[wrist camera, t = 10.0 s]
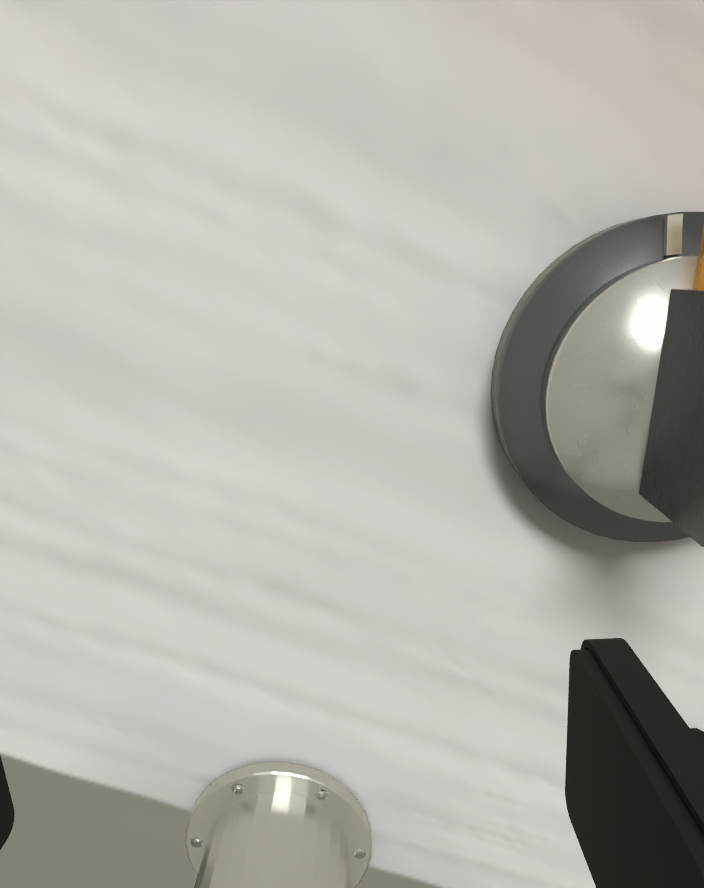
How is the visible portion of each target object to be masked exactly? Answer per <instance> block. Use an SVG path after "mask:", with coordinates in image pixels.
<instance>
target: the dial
mask: <svg viewBox="0 0 704 888" xmlns="http://www.w3.org/2000/svg"><path fill="white" fill-rule="evenodd" d="M540 408H541V418H542V424H543V428H544V432H545V436H546V438H547V441H548V443H549V446H550V448H551V451H552V452H553V454H554V456H555V458H556V459H557V461H558V463H559V464H560V466H561V467H562V468H563V469H564V471H565V472H566V473H567V474H568V476H569V477H570V478H571V479H572V480H573V481H574V482H575V483H576V484H577V485H578V486H579V487H580V488H581V489H583V490H584V491H585V492H586V493H587V494H588V495H589V496H590V497H592V498H593V499H595V500H596V501H597V502H599V503H600V504H602V505H603V506H605V507H607V508H609V509H611V510H613V511H615V512H617V513H620V514H623V515H626V516H629V517H632V518H636V519H641V520H646V521H655V522H673V523H675V524H676V525H677V526H678V527H679V528H681V529H682V530H683V531H684V532H685V533H687V534H688V535H689V536H690V537H691V538H693V539H694V540H695V541H696V542H698V543H699V544H700V545H701V546H702V547H704V227H703V233H702V239H701V245H700V251H699V256H681V257H671V258H666V259H660V260H655V261H652V262H649V263H646V264H643V265H640V266H637V267H635V268H633V269H631V270H628V271H626V272H624V273H622V274H620V275H618V276H617V277H615V278H614V279H612V280H610V281H609V282H607V283H605V284H604V285H603V286H602V287H600V288H599V289H598V290H597V291H595V292H594V293H593V294H591V295H590V296H589V297H588V298H587V299H586V300H585V301H584V302H583V303H582V304H581V305H580V306H579V307H578V308H577V309H576V311H575V312H574V313H573V314H572V316H571V317H570V318H569V320H568V321H567V322H566V323H565V325H564V327H563V328H562V330H561V332H560V333H559V335H558V337H557V338H556V340H555V342H554V345H553V347H552V349H551V351H550V354H549V356H548V359H547V363H546V366H545V369H544V373H543V379H542V385H541V398H540Z"/></svg>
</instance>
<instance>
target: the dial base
mask: <svg viewBox="0 0 704 888" xmlns="http://www.w3.org/2000/svg"><path fill="white" fill-rule="evenodd" d="M703 227H704V212H677V213H670V214H663V215H656V216H651V217H645V218H640V219H636V220H632V221H628V222H625V223H621V224H618V225H615V226H612V227H610V228H607V229H605V230H603V231H600V232H598V233H596V234H593V235H592V236H590V237H588V238H587V239H585V240H583V241H581V242H580V243H578V244H576V245H574V246H573V247H572V248H570V249H569V250H568V251H566V252H565V253H564V254H562V255H561V256H560V257H558V258H557V259H556V260H555V261H553V262H552V263H551V264H550V265H549V266H548V267H547V268H546V269H545V270H544V271H543V272H542V273H541V274H540V275H539V276H538V277H537V278H536V280H535V281H534V282H533V283H532V284H531V286H530V287H529V288H528V289H527V291H526V292H525V293H524V295H523V296H522V298H521V299H520V301H519V302H518V304H517V306H516V307H515V309H514V310H513V312H512V314H511V316H510V318H509V320H508V322H507V324H506V327H505V329H504V331H503V333H502V336H501V339H500V342H499V345H498V348H497V352H496V356H495V362H494V367H493V372H492V388H491V396H492V410H493V416H494V421H495V425H496V430H497V433H498V436H499V439H500V441H501V444H502V447H503V449H504V451H505V453H506V455H507V457H508V459H509V460H510V462H511V464H512V466H513V467H514V468H515V470H516V471H517V472H518V474H519V475H520V477H521V478H522V479H523V481H524V482H525V483H526V485H527V486H528V487H529V489H530V490H531V491H532V493H533V494H534V495H535V496H536V497H537V498H538V499H539V500H540V501H541V502H542V503H543V504H544V505H545V506H546V507H548V508H549V509H550V510H552V511H553V512H554V513H556V514H557V515H558V516H560V517H561V518H563V519H564V520H566V521H568V522H570V523H571V524H573V525H575V526H577V527H579V528H581V529H584V530H586V531H589V532H591V533H594V534H597V535H601V536H605V537H608V538H612V539H618V540H626V541H633V542H658V541H667V540H676V539H680V538H685V537H689V535H688V534H687V533H685V532H684V531H683V530H682V529H681V528H679V527H678V526H677V525H676V524H675V523H673V522H655V521H646V520H641V519H636V518H632V517H629V516H626V515H623V514H620V513H617V512H615V511H613V510H611V509H609V508H607V507H605V506H603V505H602V504H600V503H599V502H597V501H596V500H595V499H593V498H592V497H590V496H589V495H588V494H587V493H586V492H585V491H584V490H583V489H581V488H580V487H579V486H578V485H577V484H576V483H575V482H574V481H573V480H572V479H571V478H570V477H569V476H568V474H567V473H566V472H565V471H564V469H563V468H562V467H561V466H560V464H559V463H558V461H557V459H556V458H555V456H554V454H553V452H552V451H551V448H550V446H549V443H548V441H547V438H546V436H545V432H544V428H543V424H542V418H541V408H540V398H541V385H542V379H543V373H544V369H545V366H546V363H547V359H548V356H549V354H550V351H551V349H552V347H553V345H554V342H555V340H556V338H557V337H558V335H559V333H560V332H561V330H562V328H563V327H564V325H565V323H566V322H567V321H568V320H569V318H570V317H571V316H572V314H573V313H574V312H575V311H576V309H577V308H578V307H579V306H580V305H581V304H582V303H583V302H584V301H585V300H586V299H587V298H588V297H589V296H590V295H591V294H593V293H594V292H595V291H597V290H598V289H599V288H600V287H602V286H603V285H604V284H605V283H607V282H609V281H610V280H612V279H614V278H615V277H617V276H618V275H620V274H622V273H624V272H626V271H628V270H631V269H633V268H635V267H637V266H640V265H643V264H646V263H649V262H652V261H655V260H660V259H666V258H671V257H681V256H699V251H700V245H701V239H702V233H703Z"/></svg>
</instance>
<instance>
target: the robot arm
mask: <svg viewBox="0 0 704 888" xmlns="http://www.w3.org/2000/svg"><path fill="white" fill-rule="evenodd" d="M565 796H566V804H567V809H568V813H569V817H570V820H571V823H572V825H573V828H574V831H575V833H576V836H577V838H578V841H579V844H580V846H581V849H582V851H583V854H584V857H585V859H586V862H587V865H588V867H589V870H590V872H591V875H592V878H593V880H594V883H595V885H596V888H704V732H703V731H701V730H699V729H697V728H691V729H690V728H689V727H688V726H687V724H686V723H685V721H684V720H683V719H682V717H681V716H680V715H679V713H678V712H677V710H676V709H675V708H674V706H673V705H672V704H671V702H670V701H669V699H668V698H667V697H666V695H665V694H664V693H663V691H662V690H661V688H660V687H659V686H658V684H657V683H656V682H655V680H654V679H653V677H652V676H651V675H650V673H649V672H648V671H647V669H646V668H645V667H644V665H643V664H642V662H641V661H640V660H639V658H638V657H637V656H636V654H635V653H634V651H633V650H632V649H631V647H630V646H629V645H628V643H627V642H626V641H625V640H624V639H621V638H612V639H589V640H584V641H583V643H582V646H581V650H573V651H571V654H570V669H569V697H568V726H567V754H566V782H565ZM13 822H14V807H13V804H12V799H11V795H10V792H9V788H8V784H7V780H6V776H5V772H4V768H3V764H2V760H1V756H0V850H1V848H2V846H3V845H4V843H5V842H6V840H7V838H8V837H9V835H10V832H11V830H12V827H13ZM186 848H187V853H188V857H189V860H190V862H191V864H192V866H193V868H194V871H195V872H196V873H197V875H198V876H197V879H196V883H195V886H194V888H355V887H356V886H357V885H358V883H359V882H360V881H361V879H362V878H363V876H364V874H365V872H366V870H367V868H368V864H369V860H370V857H371V833H370V824H369V822H368V819H367V816H366V813H365V811H364V809H363V808H362V806H361V804H360V803H359V801H358V799H357V798H356V797H355V796H354V795H353V794H352V793H351V792H350V791H349V790H348V789H347V788H346V787H345V786H344V785H342V784H341V783H340V782H338V781H337V780H335V779H334V778H332V777H330V776H328V775H326V774H324V773H322V772H320V771H318V770H316V769H313V768H309V767H306V766H303V765H299V764H292V763H285V762H263V763H257V764H252V765H246V766H244V767H241V768H238V769H235V770H232V771H230V772H228V773H226V774H225V775H223V776H221V777H219V778H218V779H216V780H215V781H214V782H213V783H212V784H210V785H209V786H208V787H207V788H206V789H205V790H204V791H203V793H202V794H201V795H200V797H199V798H198V799H197V801H196V803H195V806H194V808H193V810H192V812H191V816H190V819H189V823H188V826H187V830H186Z"/></svg>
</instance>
